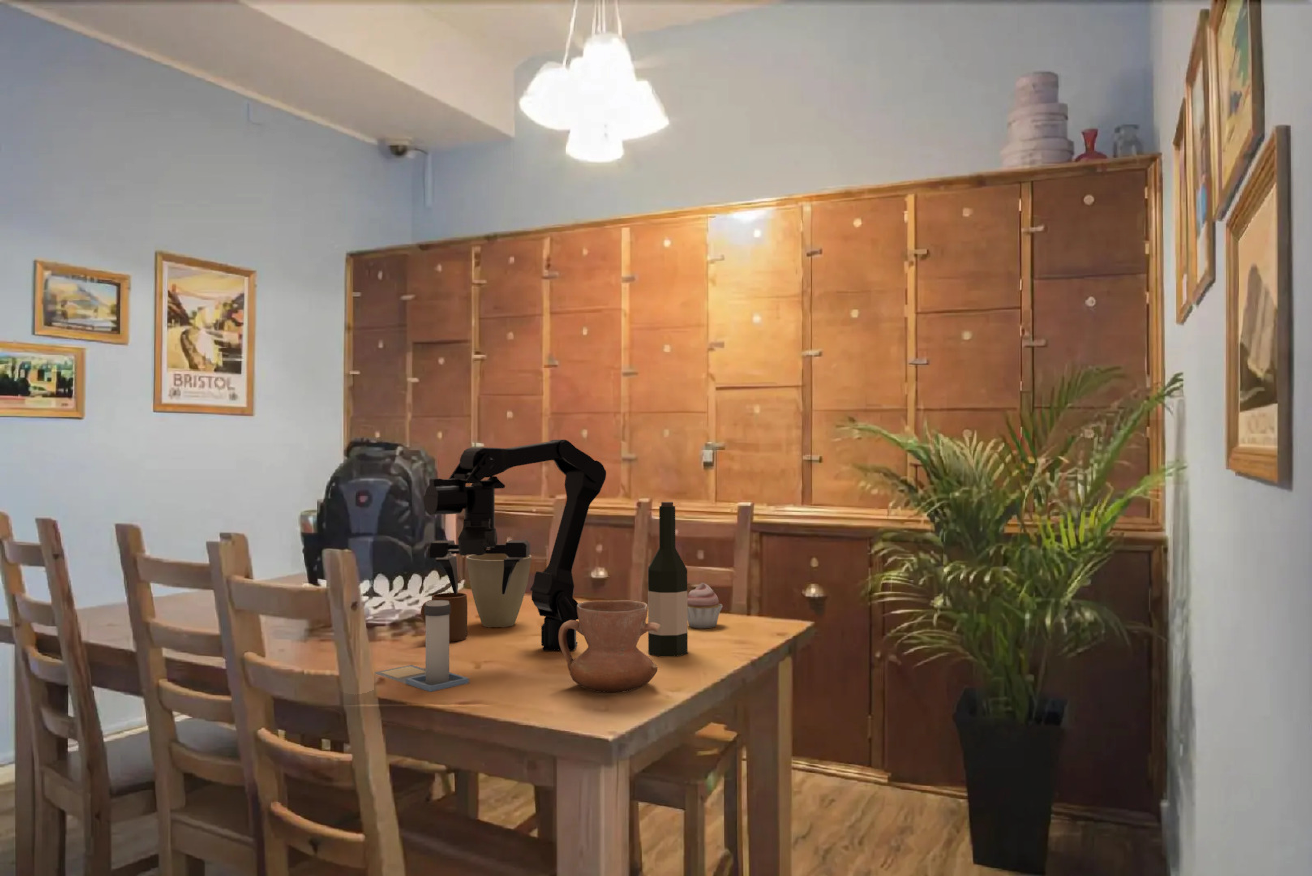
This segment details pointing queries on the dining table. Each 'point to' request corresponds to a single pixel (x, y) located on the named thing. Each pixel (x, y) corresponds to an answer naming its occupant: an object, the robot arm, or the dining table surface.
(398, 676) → the grey rectangular board
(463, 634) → the mug
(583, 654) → the ceramic jug
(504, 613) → the plant pot
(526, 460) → the robot arm
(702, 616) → the cupcake
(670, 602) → the wine bottle
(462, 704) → the dining table surface
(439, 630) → the white grey banded cylinder
